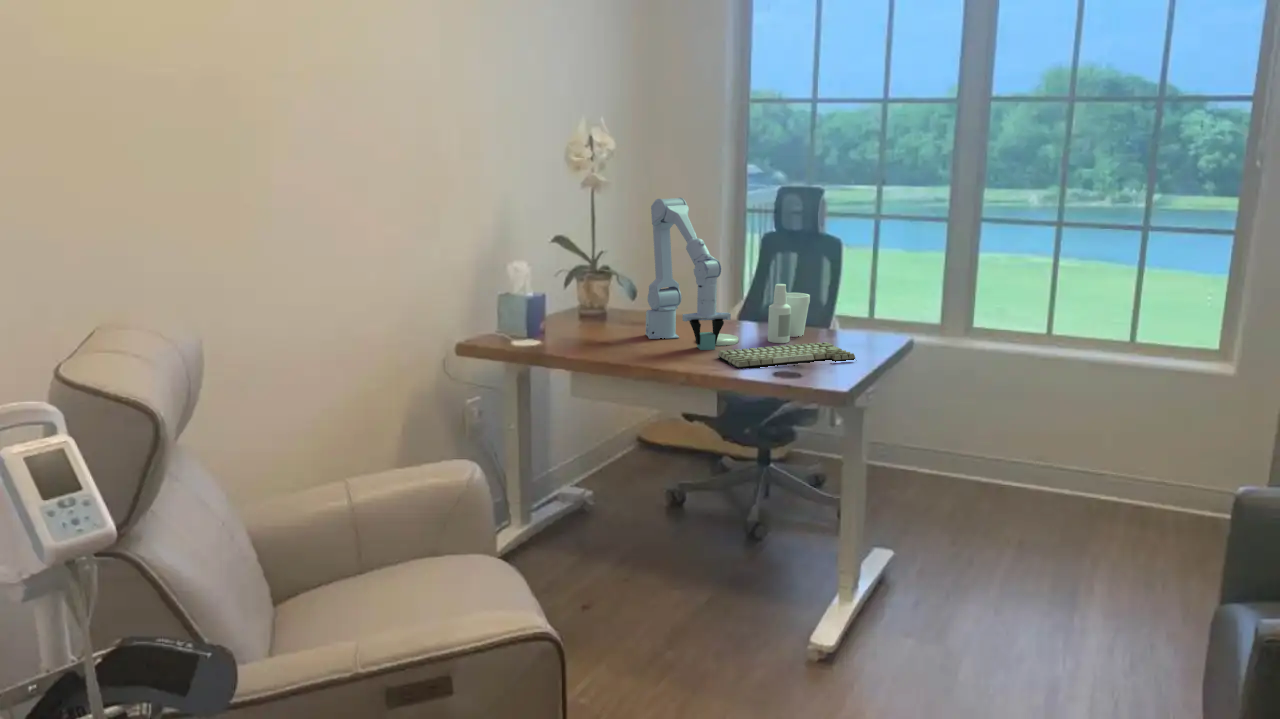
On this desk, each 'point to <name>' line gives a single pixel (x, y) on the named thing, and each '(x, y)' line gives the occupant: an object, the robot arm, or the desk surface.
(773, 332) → the spray bottle
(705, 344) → the teal block
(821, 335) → the desk surface
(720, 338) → the dish
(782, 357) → the mechanical keyboard
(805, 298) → the foam cup
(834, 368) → the desk surface
